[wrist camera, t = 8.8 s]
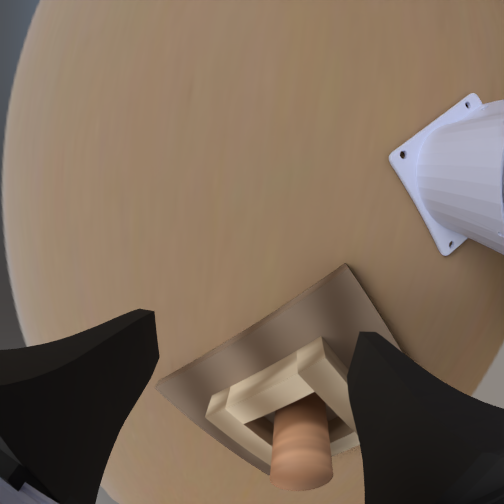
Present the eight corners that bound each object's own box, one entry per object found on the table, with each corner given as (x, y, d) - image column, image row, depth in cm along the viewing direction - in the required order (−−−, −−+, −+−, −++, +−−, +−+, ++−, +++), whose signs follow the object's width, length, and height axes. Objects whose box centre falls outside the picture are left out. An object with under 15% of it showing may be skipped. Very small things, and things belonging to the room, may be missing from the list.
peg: (282, 386, 20) (279, 461, 13) (332, 393, 20) (342, 465, 13) (269, 418, 21) (263, 487, 15) (315, 425, 21) (319, 492, 14)
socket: (345, 262, 18) (358, 283, 15) (426, 394, 21) (439, 420, 17) (158, 380, 23) (143, 407, 19) (269, 468, 25) (267, 493, 22)
